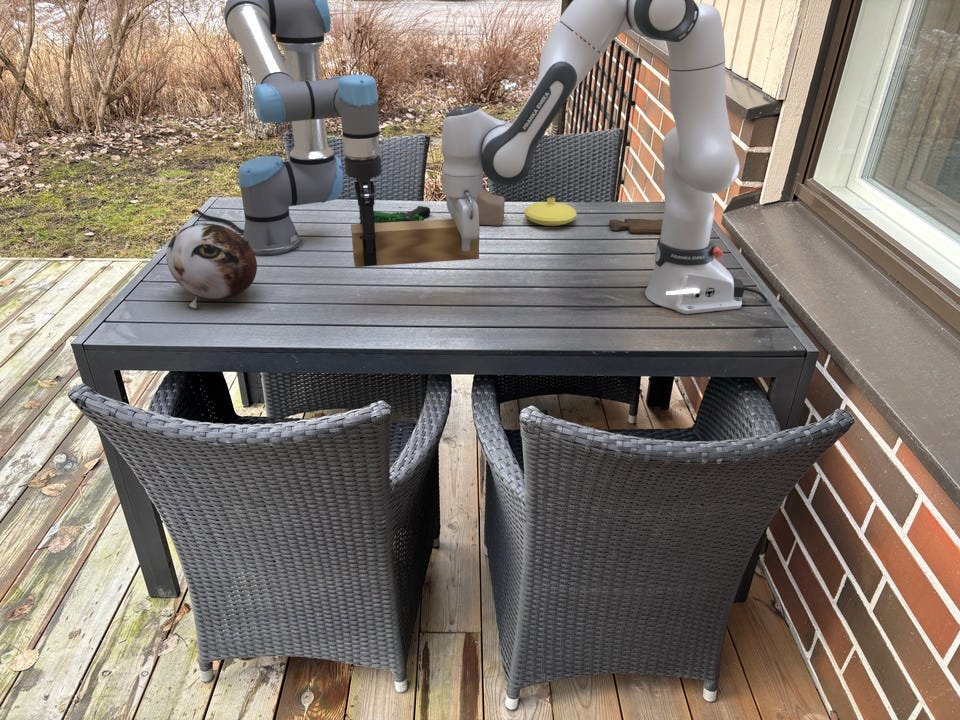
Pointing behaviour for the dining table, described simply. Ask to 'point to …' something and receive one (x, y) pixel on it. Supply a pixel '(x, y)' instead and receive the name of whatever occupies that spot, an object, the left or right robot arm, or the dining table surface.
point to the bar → (414, 243)
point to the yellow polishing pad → (550, 213)
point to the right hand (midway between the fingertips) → (462, 244)
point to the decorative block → (490, 209)
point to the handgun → (402, 215)
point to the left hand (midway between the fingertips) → (369, 259)
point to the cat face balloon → (211, 261)
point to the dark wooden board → (637, 225)
